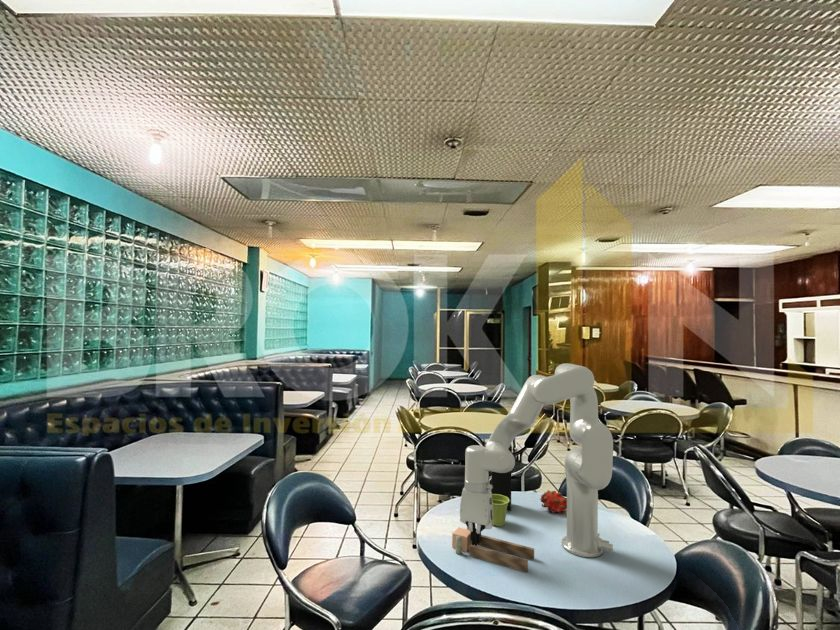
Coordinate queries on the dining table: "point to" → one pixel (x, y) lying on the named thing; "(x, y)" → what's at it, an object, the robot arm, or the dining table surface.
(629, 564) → the dining table surface
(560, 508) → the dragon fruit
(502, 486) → the tall black pillar
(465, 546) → the block
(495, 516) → the plant pot
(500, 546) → the chute
